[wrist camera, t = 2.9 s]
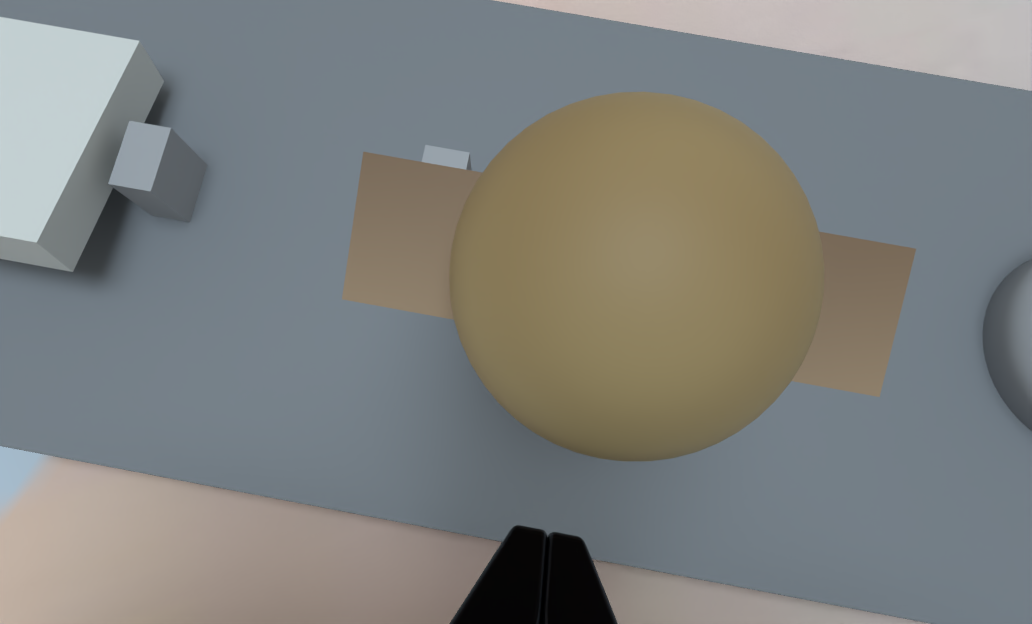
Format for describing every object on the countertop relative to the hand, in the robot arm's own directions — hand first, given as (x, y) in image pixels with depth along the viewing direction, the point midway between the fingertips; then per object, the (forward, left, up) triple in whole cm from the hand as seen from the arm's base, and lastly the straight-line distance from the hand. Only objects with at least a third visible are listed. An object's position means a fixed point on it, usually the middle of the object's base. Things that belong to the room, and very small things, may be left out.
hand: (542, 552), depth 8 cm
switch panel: (+5, +4, -10) cm, 12 cm away
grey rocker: (-3, +14, -7) cm, 16 cm away
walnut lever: (+5, +4, -7) cm, 9 cm away
